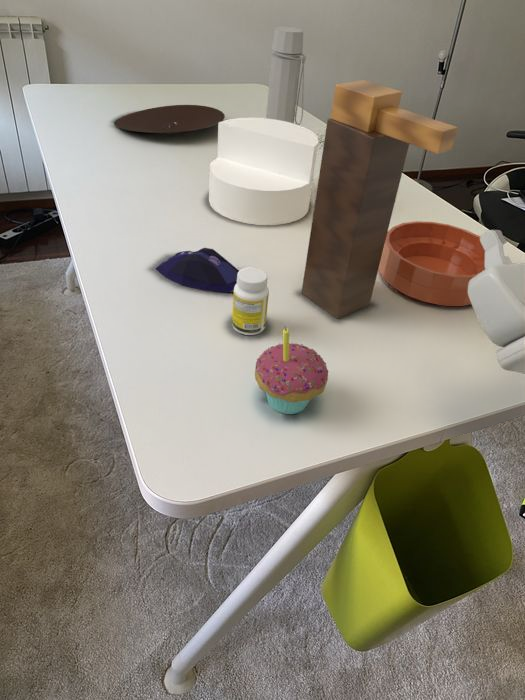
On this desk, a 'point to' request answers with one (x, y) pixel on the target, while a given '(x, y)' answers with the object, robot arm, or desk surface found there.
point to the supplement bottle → (250, 301)
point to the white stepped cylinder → (262, 171)
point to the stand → (351, 216)
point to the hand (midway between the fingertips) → (516, 231)
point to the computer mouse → (200, 270)
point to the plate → (171, 119)
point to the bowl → (432, 261)
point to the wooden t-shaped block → (388, 116)
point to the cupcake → (290, 375)
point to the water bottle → (285, 74)
